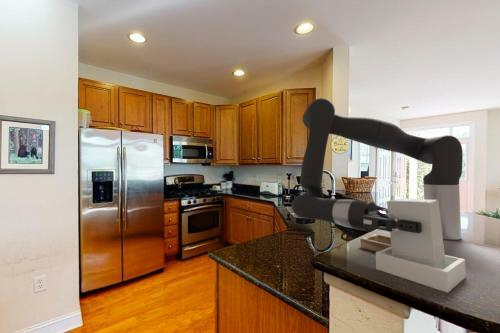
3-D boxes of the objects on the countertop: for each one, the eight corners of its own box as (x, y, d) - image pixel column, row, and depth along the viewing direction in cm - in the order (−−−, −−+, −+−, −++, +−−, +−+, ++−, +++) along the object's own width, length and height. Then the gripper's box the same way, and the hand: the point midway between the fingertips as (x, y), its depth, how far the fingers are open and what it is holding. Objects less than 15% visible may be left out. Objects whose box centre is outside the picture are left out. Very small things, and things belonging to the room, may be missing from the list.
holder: (376, 241, 71) (376, 233, 71) (418, 251, 62) (417, 242, 62) (360, 247, 66) (360, 238, 66) (403, 258, 57) (402, 248, 57)
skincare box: (446, 272, 48) (442, 199, 48) (435, 279, 44) (431, 201, 45) (402, 260, 54) (398, 197, 55) (389, 266, 51) (386, 198, 52)
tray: (398, 258, 57) (397, 244, 57) (465, 277, 47) (465, 259, 47) (376, 268, 51) (375, 252, 51) (447, 292, 41) (447, 272, 41)
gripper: (338, 202, 57) (413, 210, 44) (368, 198, 65) (441, 204, 52) (338, 232, 57) (415, 250, 43) (369, 224, 65) (442, 237, 51)
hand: (428, 225), depth 48 cm, fingers open, 7 cm apart
